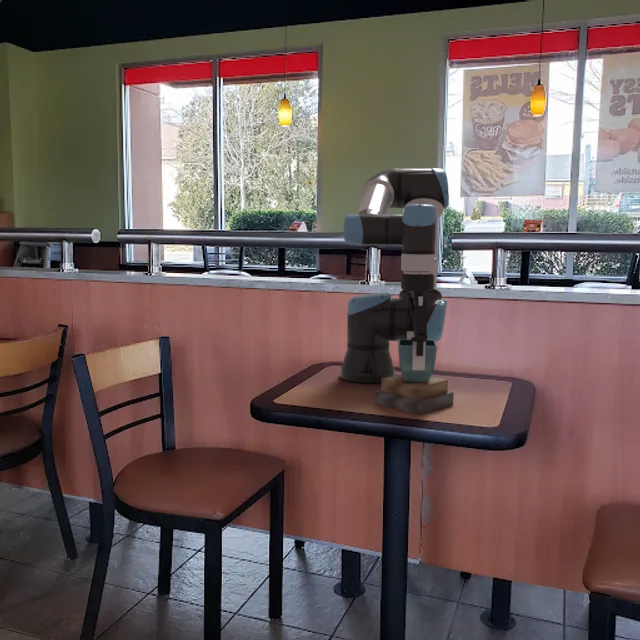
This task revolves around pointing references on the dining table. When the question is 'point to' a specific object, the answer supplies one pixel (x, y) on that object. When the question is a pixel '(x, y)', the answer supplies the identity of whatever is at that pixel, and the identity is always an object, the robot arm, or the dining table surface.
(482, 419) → the dining table surface
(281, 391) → the dining table surface
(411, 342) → the flower pot
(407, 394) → the tier stand
